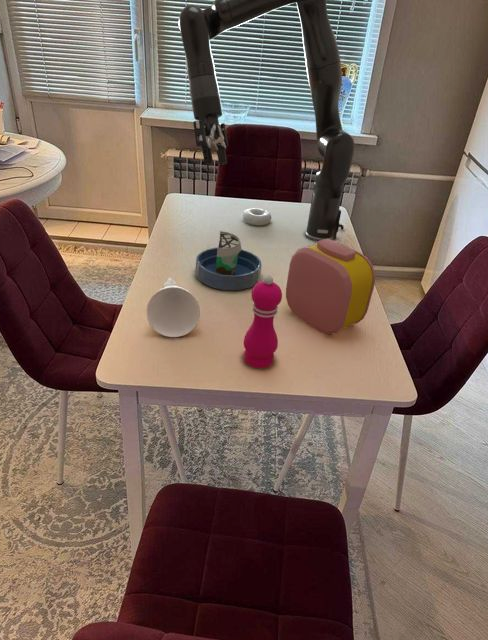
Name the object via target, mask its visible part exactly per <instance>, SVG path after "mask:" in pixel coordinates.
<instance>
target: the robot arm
mask: <svg viewBox="0 0 488 640" xmlns="http://www.w3.org/2000/svg"><path fill="white" fill-rule="evenodd" d="M292 4H296V7H297V12H298V16H299V20H300V26H301V33H302V34H301V36H302V44H303V51H304V60H305V67H306V74H307V79H308V85H309V91H310V96H311V101H312V106H313V113H314V118H315V132H316V146H317V147H316V148H317V150H318V153H319V154H320V155H321V158H323V161H322V166H321V169H320V171H318V172H316V174H315V178H314V184H313V189H312V196H311V200H310V207H309V214H308V220H307V226H306V230H305V237H307V238H308V239H310V240H313V241H316V242H318V241H320V240H323V239H330V240H333V241H334V240H336V239H337V234H338V233H339V229H340V230H344V229H345V226H344V225H343V224H341V223H340V220H341V215H342V210H341V209H340V208H341V203H342V197H343V192H344V188H345V183H346V181H347V179H348V178H349V175H350V173H351V172H350V171H351V169H352V168H351V167H352V164H353V159H354V155H355V147H356V144H355V139H354V138H353V137H352V135H351V134H349V132H347V131H345V130H344V129H343V127H342V126H343V125H342V122H341V121H342V120H341V115H340V109H339V105H340V104H339V103H340V97H341V91H342V86H343V72H342V62H341V55H340V51H339V46H338V43H337V40H336V36H335V33H334V31H333V28H332V25H331V22H330V19H329V15H328V8H327V0H213V2H212V4H211V5H210V6H208V7H206V8H204V9H202V8H201V7H199V6H198V5H196V4H189V5H186V6H184V7H183V8H182V10H181V11H180V14H179V15H178V27H179V32H180V37H181V42H182V46H183V50H184V54H185V55H184V56H185V64H186V66H185V67H186V73H187V78H188V86H189V89H188V90H189V95H190V102H191V107H192V108H191V109H192V112H193V119H194V120H193V122H192V124H193V132H194V139H195V144H196V147H199V148H200V150H201V151H202V156H203V157H202V158H203V162H204V165H211V164H213V163H214V159H213V154H212V148H211V146H212V145H214V147H215V149H216V156H217V160H218V165H225V164H227V163H228V159H227V154H226V149H227V147H229V140H228V134H227V129H226V124H225V122H222V123H220V121H219V118H220V117H222V116H223V107H222V100H221V95H220V89H219V84H218V80H217V76H216V75H217V74H216V71H215V70H216V69H215V68H216V67H215V64H214V59H213V54H212V49H211V42H210V41H211V40H213V39H215V38H217V37H218V36H219V35H221V34H222V33H224V32H226V31H227V30H230V29H233V28H236V27H238V26H240V25H243V24H245V23H247V22H250V21H252V20H254V19H256V18H259V17H261V16H263V15H266V14H268V13H270V12H272V11H274V10H277V9H280V8H283V7H286V6H289V5H292Z"/></svg>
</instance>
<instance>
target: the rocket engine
mask: <svg viewBox="0 0 488 640" xmlns="http://www.w3.org/2000/svg"><path fill="white" fill-rule="evenodd" d="M200 317H201V307H200V304H199V302H198V300H197V298H196V297H195V296H194V295H193V294H192V292H190V291H189V290H187V289H186V288H184V287H182V286H179V285H177V282H175V281H174V280H173V278H172V277H168V278H167V279H166V281H165V282H164V284H163V285H162V287H161V289H159V290H157V291H155V293H154V294H153V295H152V296H151V297H150V298H149V301H148V302H147V305H146V318H147V321H148V323H149V325H150V327H151V328H152V329H153V330H154V331H155V332H157V334H159V335H161V336H164V337H169V338H179V337H183V336H186V335H188V334H189V333H191V332H192V331H193V330H194V329H195V328H196V326H198V323H199V322H200Z"/></svg>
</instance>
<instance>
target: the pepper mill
mask: <svg viewBox="0 0 488 640" xmlns="http://www.w3.org/2000/svg"><path fill="white" fill-rule="evenodd" d="M282 299H283V292H282V289H281V287H280V285H278V284H277V283H276V282H274V278H273V276H272V275H266V276H264V279H263V280H262V281H258V283H257V284H255V285H254V286H253V288H252V290H251V300H252V302H253V303H252V309H251V311H252V312H253V321H252V323H251V325H250V326H249V327H248V329H247V331H246V332H245V334H244V337H243V347H244V355H243V359H244V362H245V364H247V365H248V366H250V367H252V368H256V369H266V368H269V367H270V366H272V364H273V363H274V358H275V353H276V351H277V349H278V346H279V345H278V344H279V339H278V335H277V332H276V329H275V327H274V319H275V316H276V315H277V314H278V310H279V305H280V304H281V302H282Z"/></svg>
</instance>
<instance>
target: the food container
mask: <svg viewBox="0 0 488 640" xmlns="http://www.w3.org/2000/svg"><path fill="white" fill-rule="evenodd" d="M216 248H217V265H216V273H218V274H223V275H235V271H236V265H237V259H238V253H239V252H240V251H241V249H242V242H241V239H240V237H238V236H237V235H236V234H234V233H231V232H228V231H222V230H220V231H219V241H218V247H216ZM242 250H243V249H242Z"/></svg>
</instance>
